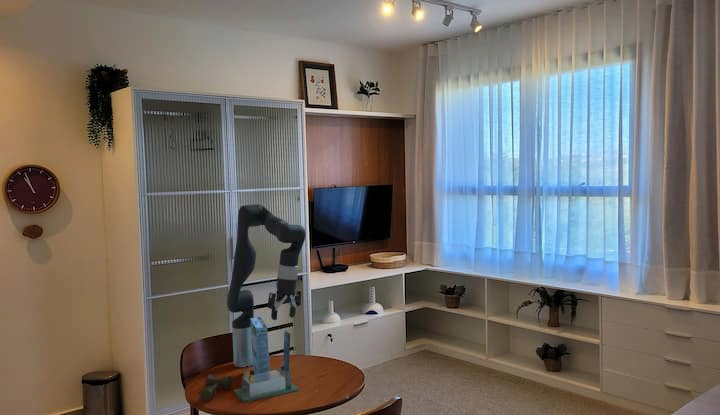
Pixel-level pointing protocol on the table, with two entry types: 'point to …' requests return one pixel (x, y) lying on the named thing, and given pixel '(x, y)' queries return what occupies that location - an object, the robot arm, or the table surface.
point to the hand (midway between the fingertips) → (282, 318)
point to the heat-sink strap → (286, 351)
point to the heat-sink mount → (265, 385)
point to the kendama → (214, 387)
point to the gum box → (259, 346)
